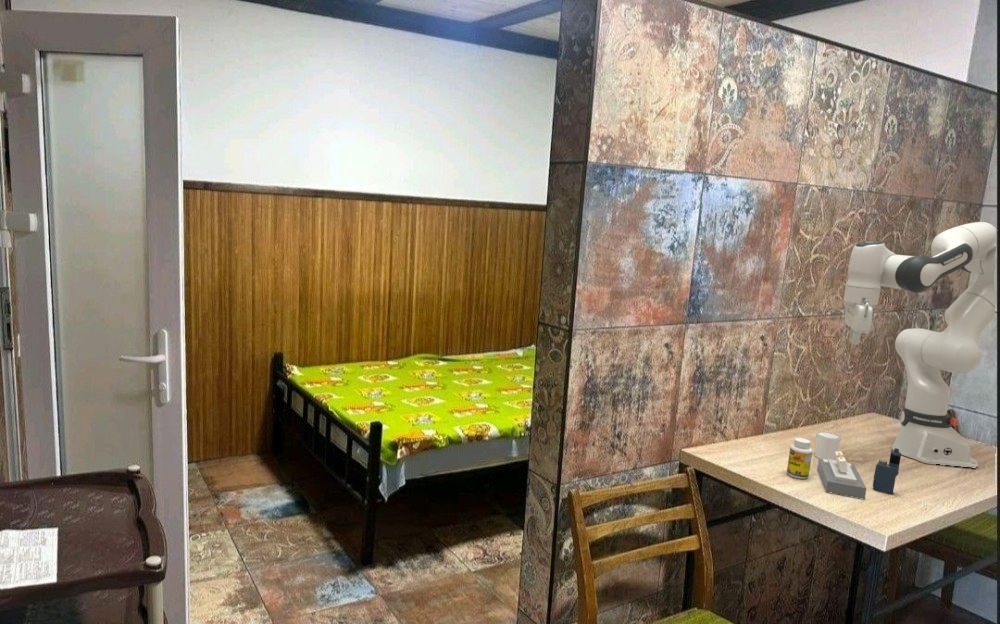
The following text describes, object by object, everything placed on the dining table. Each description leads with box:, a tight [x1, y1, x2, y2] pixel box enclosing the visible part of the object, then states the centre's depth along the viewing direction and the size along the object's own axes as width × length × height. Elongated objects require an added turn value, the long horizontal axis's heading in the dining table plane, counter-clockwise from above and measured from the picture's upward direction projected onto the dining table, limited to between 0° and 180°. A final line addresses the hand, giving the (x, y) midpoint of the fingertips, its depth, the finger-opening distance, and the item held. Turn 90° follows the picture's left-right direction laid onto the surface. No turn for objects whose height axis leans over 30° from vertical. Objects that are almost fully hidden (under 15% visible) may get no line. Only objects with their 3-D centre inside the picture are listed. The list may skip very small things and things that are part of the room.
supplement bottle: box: [786, 437, 813, 480], centre depth 180 cm, size 6×6×10 cm
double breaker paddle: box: [835, 450, 848, 472], centre depth 177 cm, size 2×8×3 cm, turn 161°
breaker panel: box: [816, 458, 867, 500], centre depth 177 cm, size 9×18×4 cm, turn 161°
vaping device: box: [872, 448, 902, 495], centre depth 173 cm, size 3×5×12 cm, turn 58°
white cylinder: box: [814, 431, 842, 460], centre depth 197 cm, size 7×7×7 cm
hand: (854, 344), depth 191 cm, fingers closed
